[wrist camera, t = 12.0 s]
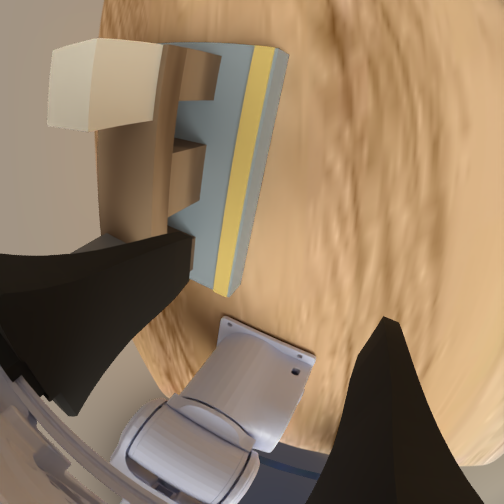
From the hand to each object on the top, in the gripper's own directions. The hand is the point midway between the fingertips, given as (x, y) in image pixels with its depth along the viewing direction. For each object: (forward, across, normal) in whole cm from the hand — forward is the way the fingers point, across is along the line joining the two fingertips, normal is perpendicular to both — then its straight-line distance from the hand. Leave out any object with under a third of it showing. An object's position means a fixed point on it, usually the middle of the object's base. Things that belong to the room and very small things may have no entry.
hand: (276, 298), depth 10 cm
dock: (+10, +11, 0) cm, 15 cm away
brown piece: (+8, +11, 0) cm, 14 cm away
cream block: (+3, +11, -6) cm, 13 cm away
